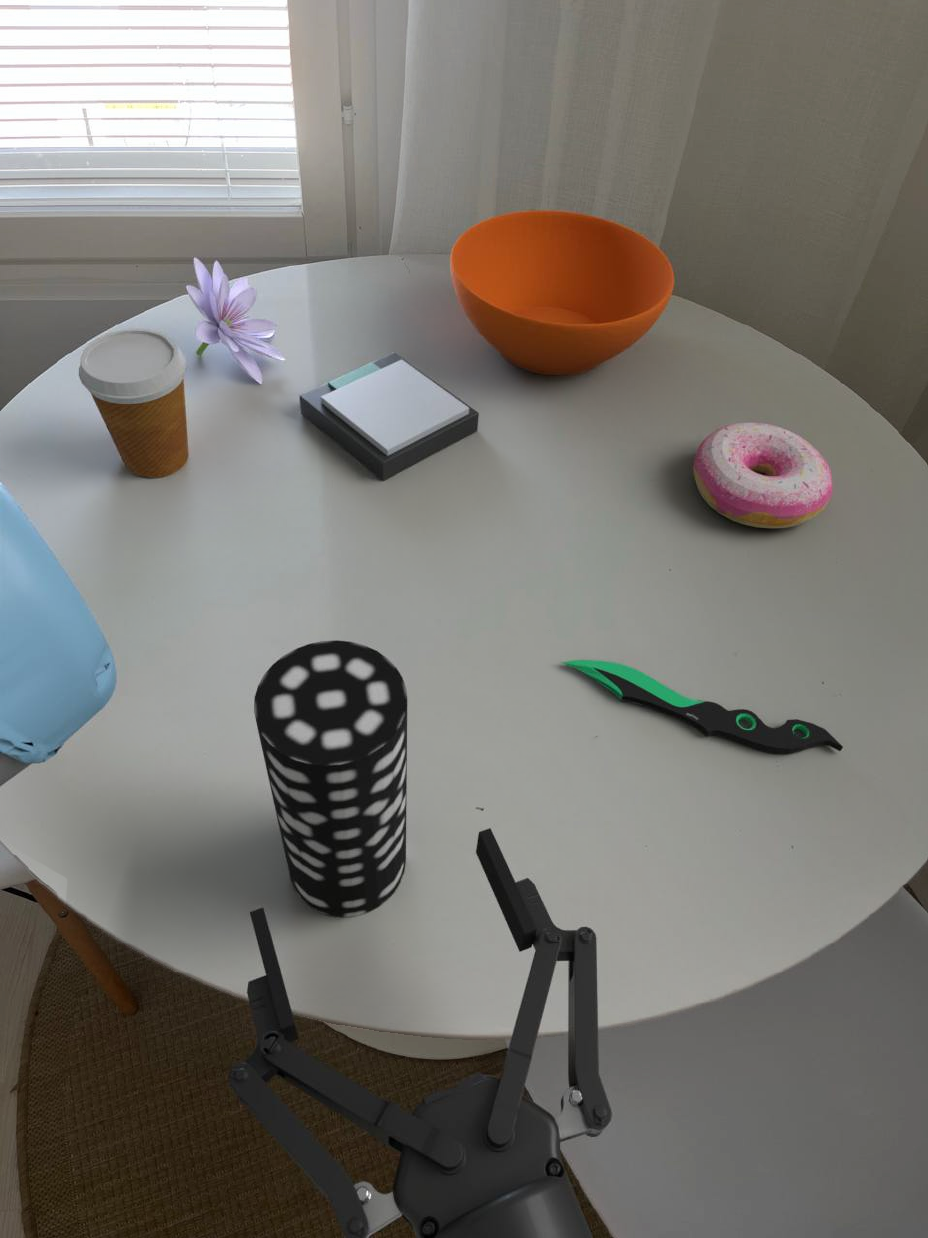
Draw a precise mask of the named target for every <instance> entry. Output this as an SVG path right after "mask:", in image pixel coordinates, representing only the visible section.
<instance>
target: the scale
mask: <svg viewBox="0 0 928 1238" xmlns="http://www.w3.org/2000/svg"><path fill="white" fill-rule="evenodd" d="M298 398H299V407H300V414H301V415H302V416H303V417H305V418H306V419H307V420H308V421H309V422H311V423H312V424H313V425H314V426H315V427H317V428H318V429H319V430H320V431H321V432H323V434H325V435H326V436H328V437H329V438H330V439H331V440H332V441H334V442H335V443H336V444H337V445H339V446H340V447H341V448H342V449H344V450H345V451H346V452H347V453H348V454H349V455H351V457H353V458H354V459H355V460H357V461H358V462H359V463H360V464H362V465H363V466H364V467H365V468H366V469H367V470H368V471H370V472H371V473H373V474H374V475H375V476H376V477H377V478H379V479H380V480H381V481H382V482H385V481H386V480H388V479H390V478H392V477H394V476H396V475H397V474H399V473H401V472H404V471H405V470H407V469H408V468H411V467H412V466H414V465H417V464H418V463H420V462H422V461H423V460H425V459H426V460H427V459H428V458H429V457H431V456H433V455H435V454H437V453H438V452H441V451H443V450H444V449H446V448H448V447H450V446H452V445H453V444H455V443H457V442H459V441H461V440H463V439H465V438H467V437H468V436H471V435H472V434H475V433H476V432H478V429H479V427H478V426H479V416H480V413H479V411H477V410H476V409H474V408H473V407H471V406H470V405H469V404H467V403H466V402H464V400H462V399H460V398H459V397H458V396H456V395H454V393H453V392H451V391H449V390H448V389H446V388H445V387H444V386H442V385H441V384H440V383H438V382H437V381H435V379H432V378H431V377H430V376H429V375H427V374H425V373H424V371H421V370H420V369H419V368H417V367H416V366H415V365H413V364H412V363H410V362H409V361H407V360H406V359H405V358H403V357H402V356H400V355H399V354H398V353H396V352H395V351H394V352H391V353H390V354H387V355H385V356H383V357H381V358H378V359H376V360H374V361H372V362H370V363H367V364H366V365H363V366H361V367H359V368H356V369H354V370H351V371H349V372H348V373H345V374H343V375H341V376H339V377H336V378H334V379H333V380H330V381H328V382H326V383H323V384H321V385H318V386H317V387H314V388H313V389H310V390H308V391H305V392H303V393H301V394H299V397H298Z"/></svg>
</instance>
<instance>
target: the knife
mask: <svg viewBox="0 0 928 1238" xmlns="http://www.w3.org/2000/svg"><path fill="white" fill-rule="evenodd" d="M560 663H562V664H564V665H566V666H569V667H572V668H573V669H576V670H578V671H580V672H582V673H584V674H586V675H587V676H588V677H590V678H592V679H593V680H594V681H596V682H597V683H599V684H600V685H602V687H604V688H606V689H607V690H608V691H610V692H611V693H613V695H615V696H616V697H617V698H618V699H619V700H620V701H621V702H629V703H634V704H637V705H640V706H643V707H647V708H650V709H652V710H655V711H658V712H660V713H663V714H666V715H668V716H671V717H673V718H676V719H678V720H681V721H682V722H683V723H686V724H688V725H690V726H692V727H694V728H695V729H696V730H698V731H700V732H701V733H702V734H703V735H704V736H705V737H708V736H714V735H715V736H719V737H722V738H724V739H727V740H730V741H733V742H735V743H737V744H738V743H739V744H741V745H743V746H746V747H749V748H752V749H755V750H759V751H762V752H767V753H772V754H779V755H780V754H781V755H790V754H793V753H797V752H802V751H805V750H807V749H810V748H814V747H819V746H828V747H830V748H831V749H834V750H836V751H838V752H841V751H842V749H843V748H844V746H843V745H842V744H841V743H840V742H839V741H838V740H837V739H836V738H835V737H834V736H833V735H832V734H831V733H830V732H829V731H828V730H827V729H826V728H824V727H821V726H819V725H817V724H815V723H812V722H809V721H805V720H802V719H797V718H796V719H794V718H793V719H786V721H785V723H783V724H782V725H781V726H777V727H770V726H768V725H767V724H765V723H764V721H763V720H762V719H761V718H759V716H758V715H757V713H755V712H754V711H752V710H749V709H746V708H741V709H739V708H737V709H730V710H729V709H726V708H724V707H723V705H721V704H719V703H717V702H714V701H709V700H708V701H707V700H698V699H692V698H689V697H686V696H684V695H682V694H680V693H678V692H676V691H674V690H673V689H671V688H669V687H668V686H666V685H665V684H663V683H661V682H659V681H658V680H656V679H654V678H653V677H651V676H649V675H647V674H646V673H644V672H643V671H640V670H638V669H635V668H633V667H631V666H627V665H625V664H620V663H617V662H613V661H607V660H596V659H595V660H593V659H574V660H567V661H560ZM740 720H745V721H748V723H750V725H751V727H750V728H745V727H742V726H741V725H740V723H739V721H740ZM795 730H799V731H802V732H803V733H804V735H805V736H804V737H799V736H797V735H796V734H795Z"/></svg>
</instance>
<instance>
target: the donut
mask: <svg viewBox="0 0 928 1238" xmlns="http://www.w3.org/2000/svg"><path fill="white" fill-rule="evenodd" d="M693 476H694V480H695V483H696V486H697V490H698V492H699V493H700V495H701V497H702V498H703V500H704V501H705V502H706V503H707V505H708V506H710V508H712V510H715V511H716V512H717V513H719V514H720V515H722V516H723V517H726V518H727V519H729V520H731V521H733V522H734V523H738V524H741V525H744V526H749V527H754V528H761V529H762V528H763V529H786V528H792V527H797V526H799V525H801V524H804V523H807V522H808V521H809V520H811V519H813V518H814V517H816V516H817V515H818V514H820V513H822V512H823V510H824V509H825V507H826V506H827V504H828V503H829V501H830V499H831V498H832V494H833V490H834V485H833V477H832V471H831V468H830V466H829V464H828V462H827V461H826V459H825V458H824V457H823V456H822V454H821V453H820V452H819V451H818V450H817V449H816V448H815V447H814V446H813V445H812V444H811V443H810V442H809V441H807V440H806V439H805V438H803V437H801V436H800V435H798V434H797V433H794V432H792V431H790V430H789V429H786V428H783V427H780V426H777V425H773V424H769V423H763V422H752V421H751V422H736V423H732V424H726V425H723V426H722V427H719V428H716V429H715V430H714V431H712V432H711V433H710V434H708V435H707V436H706V437H705V438H704V439H703V440H702V441H701V442H700V444H699V446H698V448H697V451H696V454H695V457H694V461H693Z"/></svg>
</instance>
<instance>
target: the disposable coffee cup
mask: <svg viewBox="0 0 928 1238" xmlns="http://www.w3.org/2000/svg"><path fill="white" fill-rule="evenodd" d="M186 371H187V359H186V356H185V354H184V352H182V350H181V349H180V348H179V347H178V345H177V343H176V342H175V340H173V338H172V337H170V336H168V335H167V334H165V333H163V332H160V331H156V330H152V329H148V328H147V329H146V328H126V329H119V330H115V331H110V332H108V333H105V334H104V335H101V336H99V337H97V338H95V339H94V340H92V341H91V342H89V343H88V344H87V346H86V347H85V348H84V349H83V350H82V352H81V356H80V365H79V367H78V377H79V380H80V382H81V385H83V386H84V388H85V389H86V390H87V391H88V392H89V393H90V395H91V397H92V400H93V402H94V403H95V405H96V408H97V409H98V412H99V414H100V416H101V418H102V420H103V423H104V425H105V427H106V429H107V430H108V433H109V435H110V437H111V439H112V441H113V443H114V445H115V447H116V449H117V452H118V454H119V455H120V458H121V461H122V462H123V464H124V466H125V468H126V469H127V470H128V471H129V472H130V473H132V474H133V475H136V476H138V477H141V478H147V479H153V478H154V479H157V478H164V477H167V476H171V475H172V474H174V473H176V472H178V471H179V470H181V469H182V468H184V466H185V465H186V464H187V462H188V460H189V456H190V453H189V452H190V451H189V441H188V437H189V436H188V423H187V410H186V409H187V406H186V395H185V379H184V378H185V373H186Z"/></svg>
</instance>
